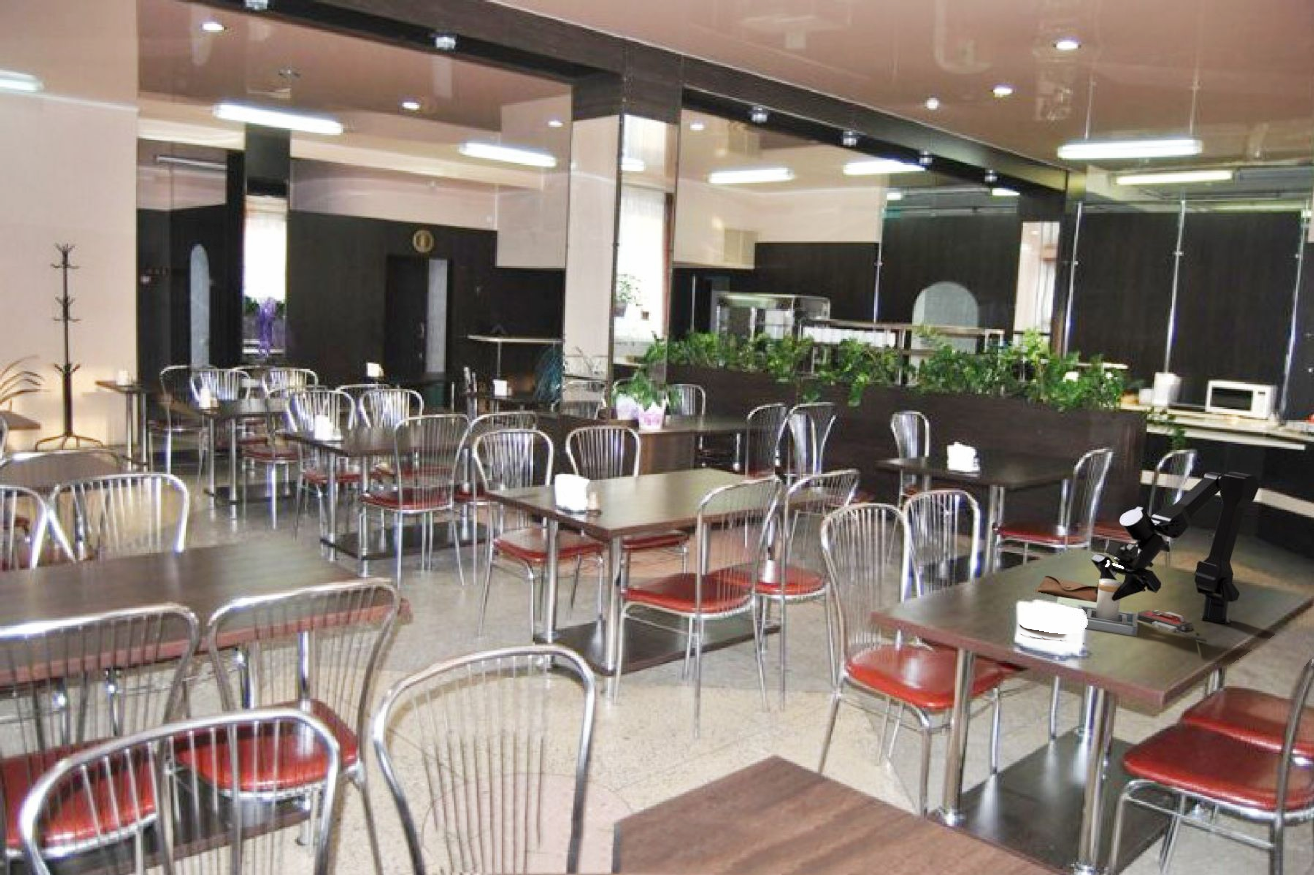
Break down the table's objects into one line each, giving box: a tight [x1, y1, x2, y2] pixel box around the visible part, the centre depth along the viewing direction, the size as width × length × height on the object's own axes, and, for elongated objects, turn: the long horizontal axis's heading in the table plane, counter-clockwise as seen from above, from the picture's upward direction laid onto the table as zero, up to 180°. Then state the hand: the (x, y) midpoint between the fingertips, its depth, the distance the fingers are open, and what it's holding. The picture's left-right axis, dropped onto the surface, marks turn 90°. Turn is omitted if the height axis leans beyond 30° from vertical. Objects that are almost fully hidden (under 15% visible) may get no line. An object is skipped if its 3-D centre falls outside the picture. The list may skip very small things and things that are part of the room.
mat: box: [1056, 596, 1097, 608], centre depth 270 cm, size 11×11×1 cm
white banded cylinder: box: [1095, 578, 1123, 621], centre depth 253 cm, size 5×5×10 cm
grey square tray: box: [1078, 605, 1138, 637], centre depth 254 cm, size 14×14×3 cm
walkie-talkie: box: [1137, 609, 1208, 643], centre depth 253 cm, size 9×4×20 cm
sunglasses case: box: [1035, 575, 1098, 602], centre depth 283 cm, size 18×7×7 cm, turn 47°
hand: (1104, 596), depth 253 cm, fingers closed on white banded cylinder, 5 cm apart
